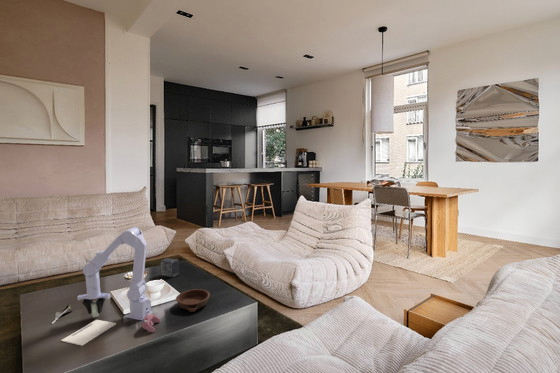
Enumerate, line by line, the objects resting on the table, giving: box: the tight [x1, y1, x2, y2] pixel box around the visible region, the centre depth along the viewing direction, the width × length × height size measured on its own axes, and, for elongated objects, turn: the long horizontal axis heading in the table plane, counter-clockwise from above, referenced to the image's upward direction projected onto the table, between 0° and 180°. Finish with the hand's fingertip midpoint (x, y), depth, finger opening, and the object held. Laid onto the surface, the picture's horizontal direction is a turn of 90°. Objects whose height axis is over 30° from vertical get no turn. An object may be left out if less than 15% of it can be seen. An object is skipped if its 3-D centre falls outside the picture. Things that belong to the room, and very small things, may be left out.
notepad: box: [60, 319, 117, 347], centre depth 144 cm, size 12×18×1 cm, turn 162°
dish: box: [175, 288, 211, 313], centre depth 169 cm, size 17×22×5 cm
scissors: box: [50, 304, 73, 325], centre depth 161 cm, size 8×21×2 cm, turn 9°
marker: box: [91, 300, 100, 320], centre depth 157 cm, size 3×3×8 cm
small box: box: [159, 257, 180, 279], centre depth 211 cm, size 11×6×10 cm, turn 66°
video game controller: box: [141, 313, 161, 334], centre depth 146 cm, size 10×5×7 cm, turn 5°
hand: (95, 312), depth 157 cm, fingers open, 4 cm apart
